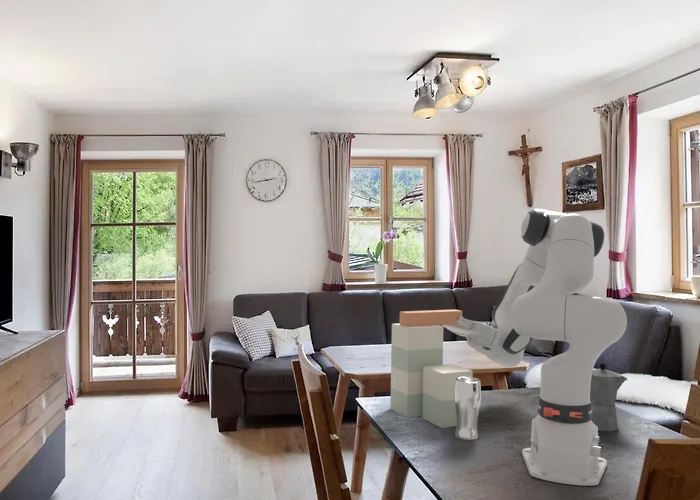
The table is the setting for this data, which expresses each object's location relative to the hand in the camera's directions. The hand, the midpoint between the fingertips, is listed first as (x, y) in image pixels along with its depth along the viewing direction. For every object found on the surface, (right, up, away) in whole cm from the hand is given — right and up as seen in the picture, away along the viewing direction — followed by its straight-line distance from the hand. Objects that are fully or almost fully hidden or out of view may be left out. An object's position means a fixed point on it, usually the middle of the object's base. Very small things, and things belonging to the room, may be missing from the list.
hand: (449, 316), depth 182 cm
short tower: (-3, -28, -14) cm, 32 cm away
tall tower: (-11, -28, -5) cm, 30 cm away
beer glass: (0, -29, -28) cm, 40 cm away
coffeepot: (+39, -29, -16) cm, 51 cm away
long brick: (-6, -2, -3) cm, 7 cm away
